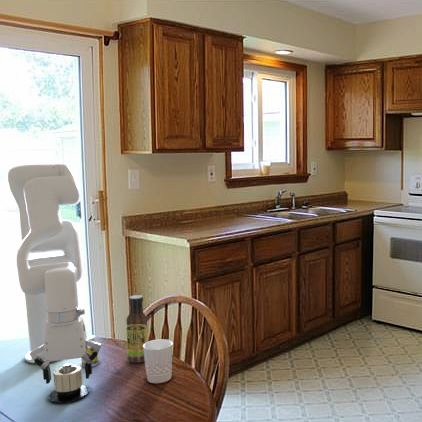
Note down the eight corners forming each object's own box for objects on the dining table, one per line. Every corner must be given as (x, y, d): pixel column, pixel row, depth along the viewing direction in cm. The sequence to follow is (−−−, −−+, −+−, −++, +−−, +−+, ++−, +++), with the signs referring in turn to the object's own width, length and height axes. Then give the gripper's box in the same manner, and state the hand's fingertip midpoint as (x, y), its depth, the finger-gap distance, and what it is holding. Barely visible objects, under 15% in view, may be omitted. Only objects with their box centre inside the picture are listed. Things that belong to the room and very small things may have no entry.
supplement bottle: (93, 367, 158) (91, 340, 157) (78, 367, 159) (76, 339, 158) (101, 361, 162) (99, 334, 162) (87, 360, 163) (85, 334, 162)
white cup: (139, 379, 149) (137, 344, 148) (163, 370, 155) (161, 337, 154) (155, 387, 144) (153, 351, 143) (179, 377, 150) (177, 343, 148)
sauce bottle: (125, 364, 160) (121, 300, 157) (129, 356, 166) (126, 294, 163) (147, 363, 160) (143, 299, 158) (150, 355, 166) (147, 293, 164)
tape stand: (52, 389, 144) (50, 359, 143) (91, 384, 147) (89, 355, 146) (45, 406, 135) (42, 374, 134) (87, 400, 137) (84, 369, 136)
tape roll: (57, 382, 143) (55, 366, 142) (84, 379, 144) (82, 363, 144) (52, 393, 136) (51, 376, 136) (80, 390, 138) (79, 373, 137)
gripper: (100, 308, 144) (104, 369, 145) (30, 315, 140) (36, 378, 141) (97, 316, 136) (101, 380, 138) (23, 323, 132) (29, 389, 134)
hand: (68, 379), depth 140 cm, fingers open, 9 cm apart
